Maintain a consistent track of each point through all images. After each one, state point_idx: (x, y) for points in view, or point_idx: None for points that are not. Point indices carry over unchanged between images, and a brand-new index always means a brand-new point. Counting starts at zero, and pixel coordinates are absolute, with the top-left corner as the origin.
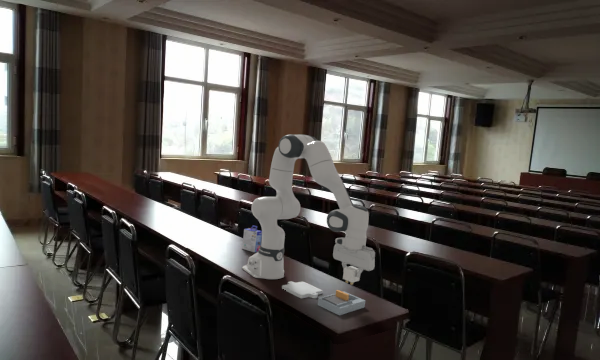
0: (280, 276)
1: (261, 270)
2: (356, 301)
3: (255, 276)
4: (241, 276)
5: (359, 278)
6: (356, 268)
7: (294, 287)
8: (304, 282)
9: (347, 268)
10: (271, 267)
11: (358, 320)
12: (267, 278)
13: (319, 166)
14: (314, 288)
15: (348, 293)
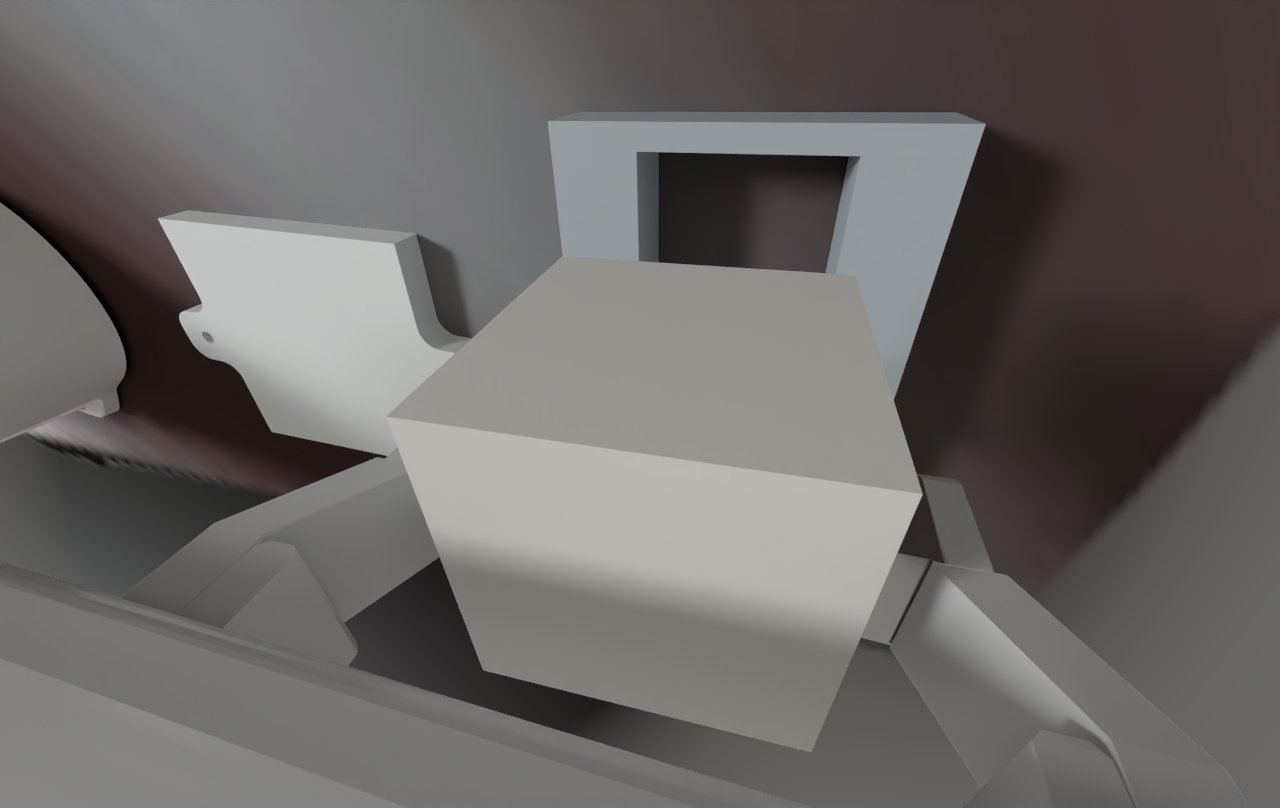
0: (68, 289)
1: (51, 417)
2: (885, 289)
3: (108, 414)
4: (111, 446)
5: (861, 300)
6: (704, 524)
7: (309, 396)
8: (188, 232)
9: (575, 686)
10: (6, 394)
11: (1033, 474)
12: (121, 372)
13: None
14: (340, 276)
15: (638, 128)
